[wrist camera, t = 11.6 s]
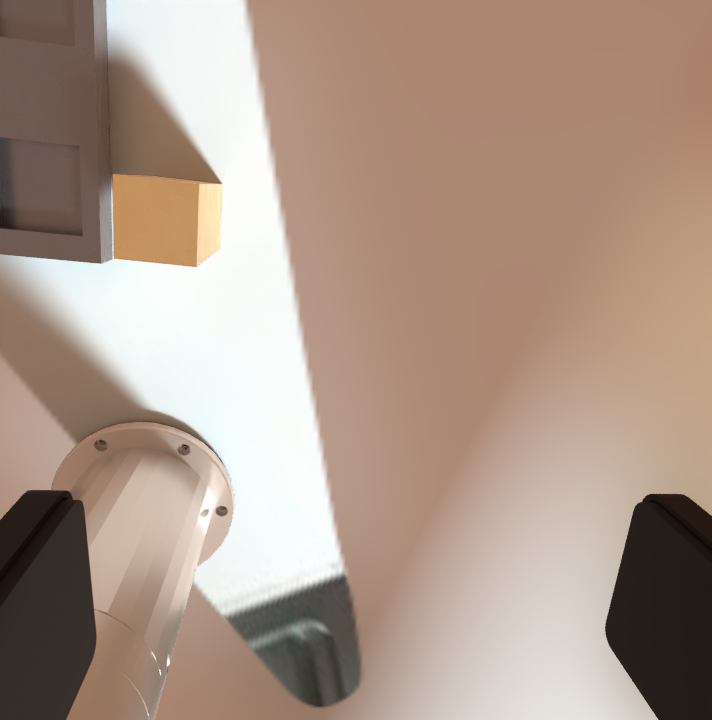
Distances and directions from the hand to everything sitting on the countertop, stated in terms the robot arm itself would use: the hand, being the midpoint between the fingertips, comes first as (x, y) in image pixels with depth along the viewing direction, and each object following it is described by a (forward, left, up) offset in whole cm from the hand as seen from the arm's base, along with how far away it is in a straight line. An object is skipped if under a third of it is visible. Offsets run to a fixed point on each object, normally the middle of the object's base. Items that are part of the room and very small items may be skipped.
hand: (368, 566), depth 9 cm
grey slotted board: (0, +19, -29) cm, 34 cm away
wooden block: (-1, +9, -29) cm, 30 cm away
